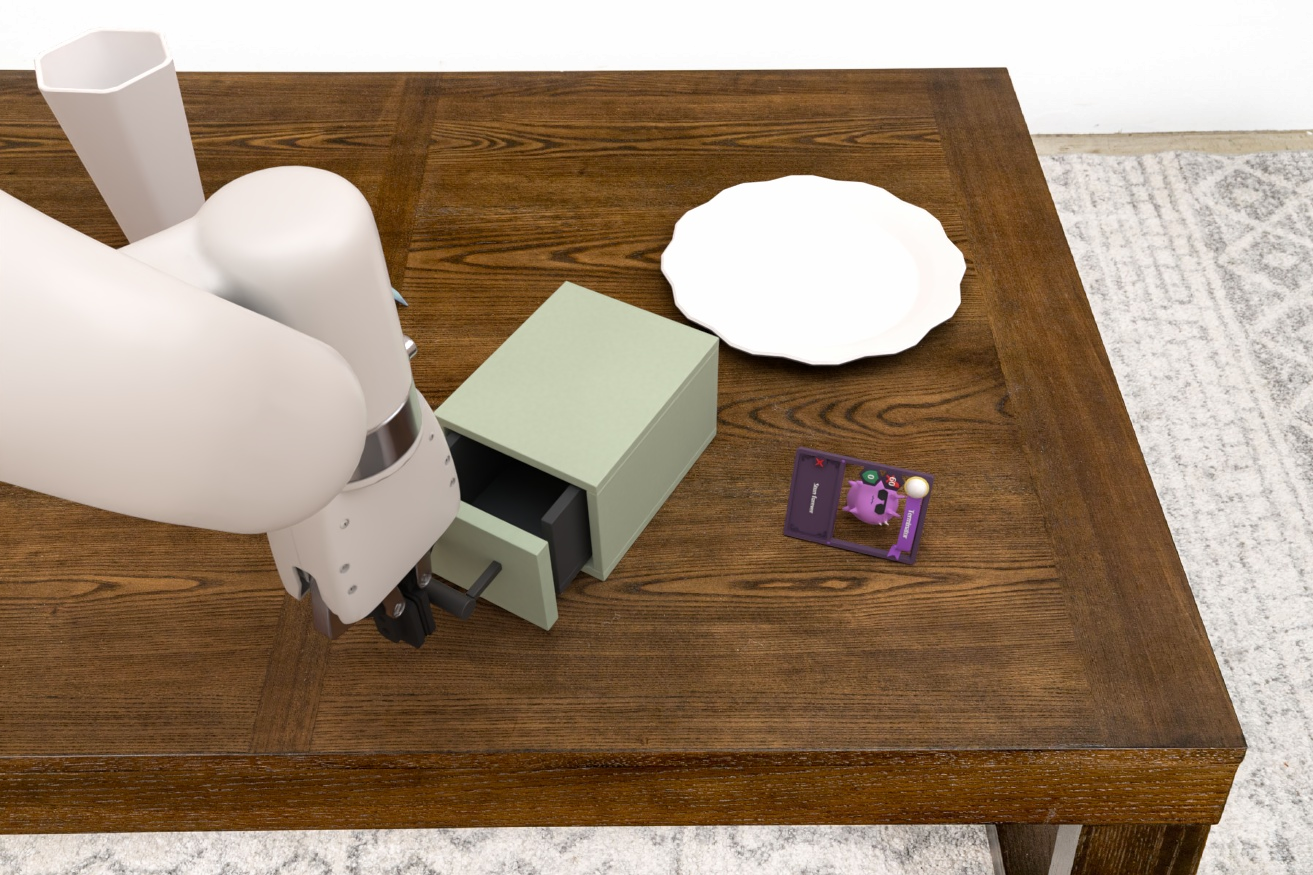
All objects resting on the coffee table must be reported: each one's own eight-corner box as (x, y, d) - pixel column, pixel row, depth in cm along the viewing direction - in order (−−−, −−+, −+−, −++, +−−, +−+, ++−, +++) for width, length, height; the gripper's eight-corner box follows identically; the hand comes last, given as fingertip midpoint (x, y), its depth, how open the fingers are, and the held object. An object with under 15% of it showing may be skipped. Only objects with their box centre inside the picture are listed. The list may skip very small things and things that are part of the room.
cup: (250, 202, 108) (193, 29, 95) (210, 271, 101) (144, 93, 88) (135, 197, 109) (64, 25, 96) (88, 264, 102) (5, 88, 89)
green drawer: (508, 682, 71) (493, 608, 65) (364, 605, 75) (338, 529, 69) (664, 481, 82) (662, 403, 76) (531, 424, 86) (520, 346, 80)
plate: (704, 176, 109) (704, 158, 108) (973, 214, 104) (977, 197, 103) (627, 348, 93) (626, 330, 91) (943, 404, 88) (947, 386, 86)
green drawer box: (604, 581, 77) (596, 486, 70) (453, 509, 81) (431, 413, 75) (716, 434, 86) (719, 337, 79) (575, 376, 91) (566, 280, 84)
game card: (794, 453, 75) (933, 483, 73) (808, 420, 80) (940, 447, 78) (780, 539, 79) (913, 570, 77) (795, 503, 83) (920, 532, 81)
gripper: (380, 302, 62) (435, 521, 75) (168, 487, 53) (273, 697, 66) (495, 349, 59) (531, 567, 72) (291, 552, 50) (375, 757, 63)
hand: (407, 629), depth 69 cm, fingers closed
